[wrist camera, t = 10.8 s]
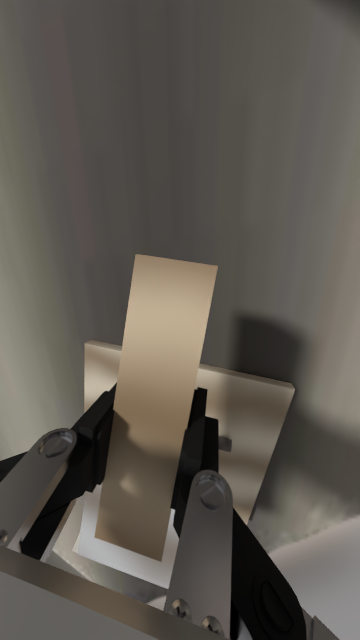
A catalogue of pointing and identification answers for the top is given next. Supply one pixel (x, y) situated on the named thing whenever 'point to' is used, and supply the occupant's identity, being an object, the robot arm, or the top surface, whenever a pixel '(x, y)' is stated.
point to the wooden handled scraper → (149, 419)
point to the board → (218, 416)
